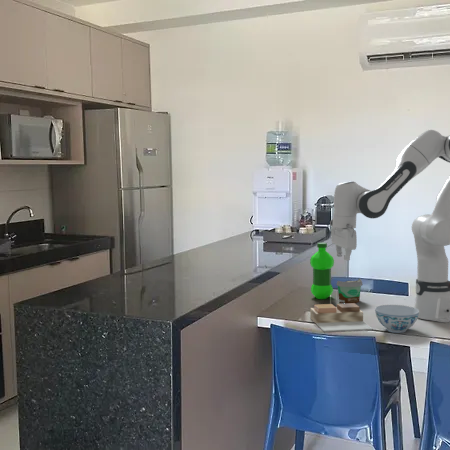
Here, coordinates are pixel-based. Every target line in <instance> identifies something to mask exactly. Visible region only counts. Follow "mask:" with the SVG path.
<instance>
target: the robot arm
mask: <svg viewBox="0 0 450 450" xmlns="http://www.w3.org/2000/svg"><path fill="white" fill-rule="evenodd" d="M437 158H440V159H441V160H443V161H444V162H447V163H450V135H447V136H445V135H442V134H441V133H440V132H439V131H437V130H435V129H428V130H427V129H426V130H425V131H424V132H423V133H421V134H419V135H417V137H415V138H414V139H413V140H412V141H411V142H410V143H408V144H407V145H406V146H405V147H404V149H402V150H401V152H400V153H399V155H398V156H397V157H396V160H395V167H394V170H393V172H392V173H391V174H390V175H389V176H388V177H387V178H386V180H384V181H383V183H381V184H380V186H378V187H377V188H376V189H373V190H370V189H367V188H365V187H363V186H361V185H360V184H359V183H357V182H356V181H352V180H351V181H350V180H349V181H344V182H340V183H338V184H337V185H336V187H335V189H334V194H333V195H334V196H333V206H334V212H333V214H332V215H333V216H332V219H331V220H330V222H329V224H330V226H331V228H330V229H331V230H330V232H331V234H330V235H331V236H330V238H331V243H332V244H333V245H335V250H336V257H339V258H341V257H342V256H344V257H343V259H344V260H345V261H350V260H351V254H352V251H356V250H357V245H358V244H357V231H356V230H355V229H357V214H362V215H363V216H364V217H366V218H368V219H378V218H380V217H382V216H384V214H385V213H386V212H387V210H388V208H389V205H390V202H391V201H392V199H393V198H394V197H395V196H396V195H397V194H398V193H399V192H400V191H401V190H402V189H403V188H404V187H405V186H406V185H407V184H408V183H409V182H410V181H411V180H413V178H416V177H417V176H418V175H419V174H421V173H422V172H423V171H425V170H426V169H427V168H428V167H429V166H430V165H431V164H432V163H433V162H434V161H435V160H436V159H437ZM435 200H436V202H435V205H434V208H433V210H432V213H431V214H423V215H420V216H417V217H416V218H415V219H414V220H413V222H412V223H411V230H412V231H411V232H412V234H413V238H414V245H415V246H414V247H415V251H416V258H417V271H416V272H417V273H416V279H415V302H414V306H413V308H416V309H418V310H419V315H418V318H417V319H421V320H425V321H426V320H427V321H435V322H439V323H449V322H450V280H449V259H448V256H447V254H446V253H447V252H446V249H445V247H446V246H447V247H448V246H450V175H449V176H448V177H447V179H446V181H445V183H444V184H443V186H442V187H441V189H440V191H439V192H438V194H437V195H436V199H435ZM342 249H344V252H345V253H344V255H343V251H342Z"/></svg>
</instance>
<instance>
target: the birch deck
mask: <svg viewBox="0 0 450 450" xmlns="http://www.w3.org/2000/svg"><path fill="white" fill-rule="evenodd" d="M335 307H336V308H337V306H335ZM309 311H310V312H309V313H310V315H309V316H310V317H309V318H310V319H311V320H312V321H313V323H314V324H316V323H329V322H356V321H363V322H364V312H363V311H362V310H361V309H360V312H341V311H340V310H338V309H337V312H334V313H318V312H317V311H316V310H315V309H314V307H310V309H309Z"/></svg>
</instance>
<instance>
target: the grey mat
mask: <svg viewBox="0 0 450 450" xmlns="http://www.w3.org/2000/svg"><path fill="white" fill-rule="evenodd" d="M315 324H316V326H317V327H318V328H320V330H321V331H322V332H324V333H327V332H328V333H330V332H331V333H332V332H353V331H354V332H355V331H356V332H358V331H373V330H374V329H373V327H372V326H370V325H369V324H368V323H366V322H365V321H364V320H363V321H356V322H329V323H315Z"/></svg>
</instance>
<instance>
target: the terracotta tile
mask: <svg viewBox="0 0 450 450" xmlns="http://www.w3.org/2000/svg"><path fill="white" fill-rule="evenodd" d="M313 306H314V307H313V308H314V309H315V310H316V311H317V312H318V313H334V312H337V308H336V307H337V306H335V305H334V304H332V303H324V304H323V303H322V304H321V303H320V304H319V303H318V304H314V305H313Z"/></svg>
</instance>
